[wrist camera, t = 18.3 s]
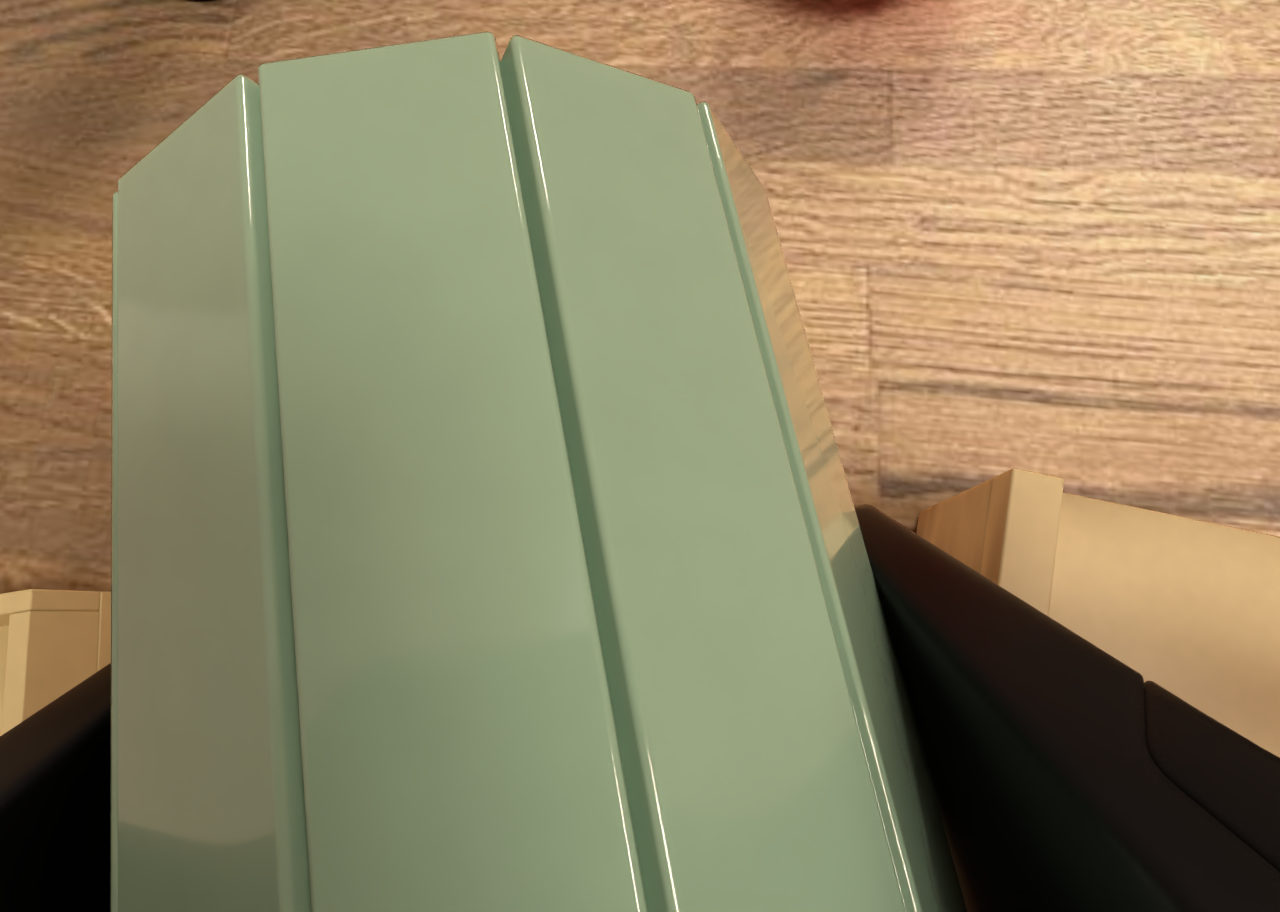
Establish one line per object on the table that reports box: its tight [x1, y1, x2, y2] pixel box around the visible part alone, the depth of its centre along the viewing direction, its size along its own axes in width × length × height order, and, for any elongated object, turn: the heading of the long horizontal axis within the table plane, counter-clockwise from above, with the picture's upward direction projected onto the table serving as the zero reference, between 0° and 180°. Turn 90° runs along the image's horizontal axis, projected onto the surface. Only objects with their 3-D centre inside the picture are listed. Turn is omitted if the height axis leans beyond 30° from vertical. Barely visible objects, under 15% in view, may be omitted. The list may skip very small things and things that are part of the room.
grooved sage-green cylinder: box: [110, 32, 967, 912], centre depth 7 cm, size 11×7×7 cm, turn 11°
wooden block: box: [916, 468, 1280, 757], centre depth 15 cm, size 8×10×6 cm
